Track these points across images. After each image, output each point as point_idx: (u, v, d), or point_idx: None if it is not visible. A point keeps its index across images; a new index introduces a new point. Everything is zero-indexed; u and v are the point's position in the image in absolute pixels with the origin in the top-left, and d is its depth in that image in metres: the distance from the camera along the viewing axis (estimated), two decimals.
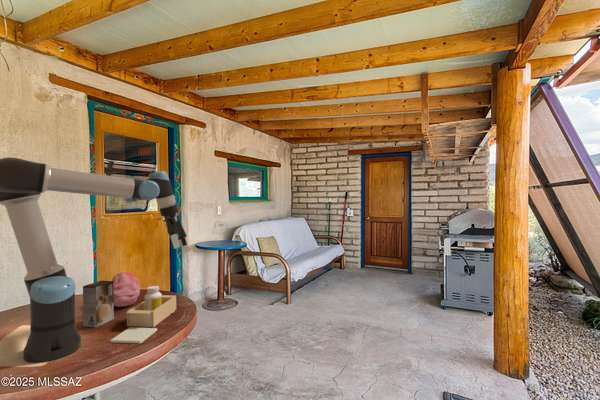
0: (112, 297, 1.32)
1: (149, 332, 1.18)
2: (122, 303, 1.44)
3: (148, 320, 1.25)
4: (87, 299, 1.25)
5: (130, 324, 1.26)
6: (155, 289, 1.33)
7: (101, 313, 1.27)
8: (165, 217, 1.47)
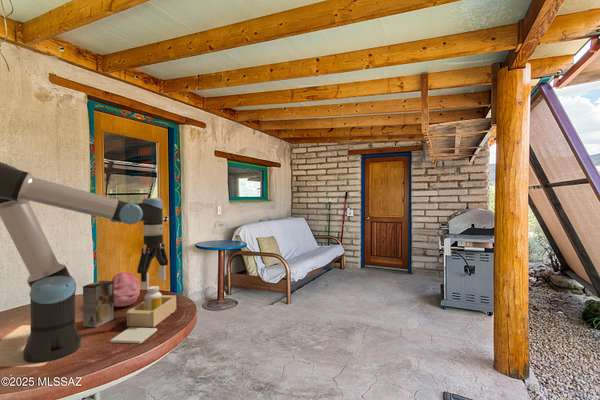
0: (112, 297, 1.32)
1: (149, 332, 1.18)
2: (122, 303, 1.44)
3: (148, 320, 1.25)
4: (87, 299, 1.25)
5: (130, 324, 1.26)
6: (155, 289, 1.33)
7: (101, 313, 1.27)
8: None
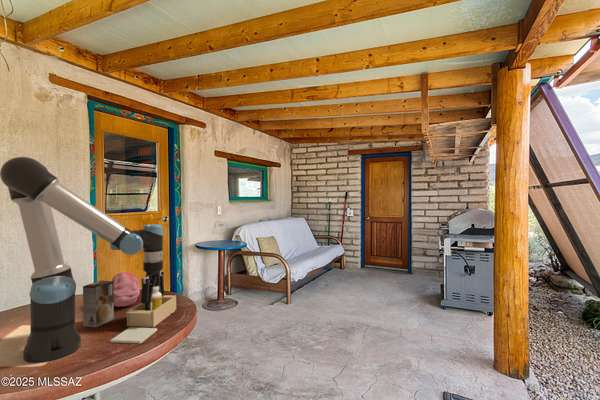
0: (112, 297, 1.32)
1: (149, 332, 1.18)
2: (122, 303, 1.44)
3: (148, 320, 1.25)
4: (87, 299, 1.25)
5: (130, 324, 1.26)
6: (155, 289, 1.33)
7: (101, 313, 1.27)
8: None
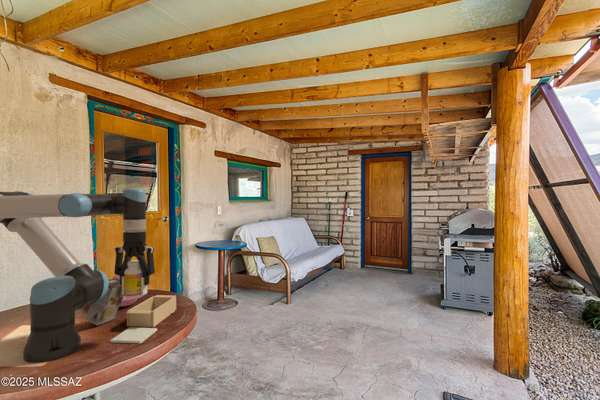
0: (121, 299, 1.32)
1: (149, 332, 1.18)
2: (122, 303, 1.44)
3: (148, 320, 1.25)
4: None
5: (130, 324, 1.26)
6: (128, 263, 1.15)
7: (106, 313, 1.27)
8: None
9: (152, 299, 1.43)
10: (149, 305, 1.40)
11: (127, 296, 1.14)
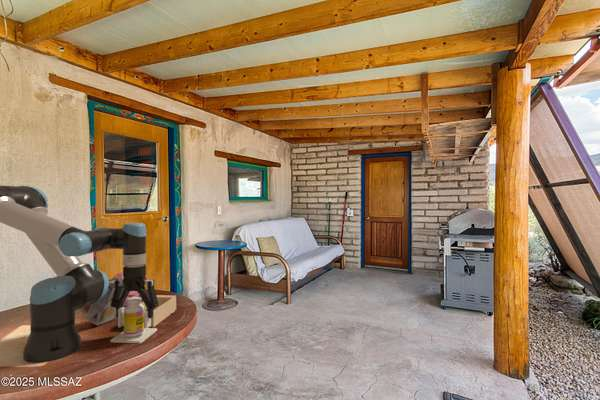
0: None
1: (149, 332, 1.18)
2: None
3: None
4: None
5: None
6: (127, 301, 1.15)
7: (106, 313, 1.27)
8: None
9: None
10: None
11: (126, 334, 1.14)
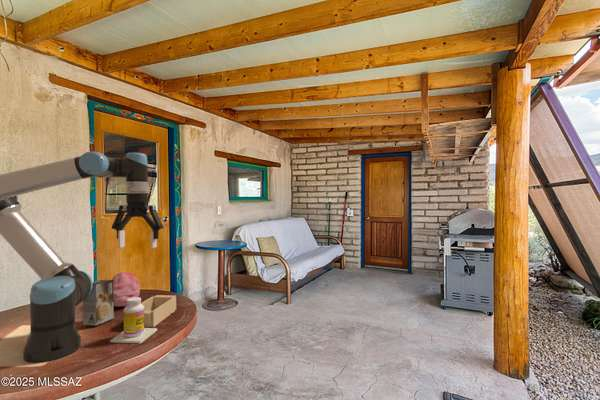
0: (112, 296, 1.33)
1: (149, 332, 1.18)
2: (122, 303, 1.44)
3: (148, 320, 1.25)
4: (87, 298, 1.26)
5: None
6: (127, 301, 1.15)
7: (101, 311, 1.27)
8: None
9: (152, 299, 1.43)
10: (149, 305, 1.40)
11: (126, 335, 1.14)
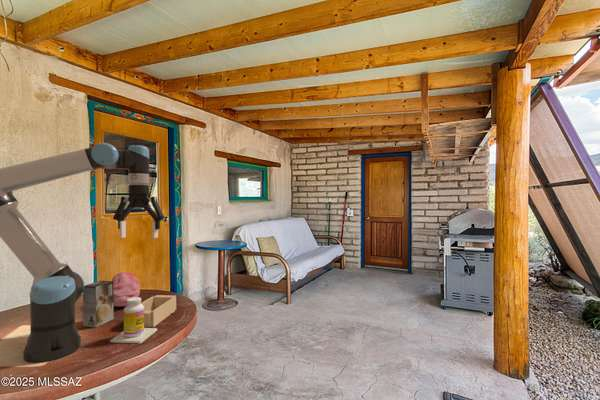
0: (112, 297, 1.32)
1: (149, 332, 1.18)
2: (122, 303, 1.44)
3: (148, 320, 1.25)
4: (87, 299, 1.25)
5: None
6: (127, 301, 1.15)
7: (101, 313, 1.27)
8: None
9: (152, 299, 1.43)
10: (149, 305, 1.40)
11: (126, 335, 1.14)
